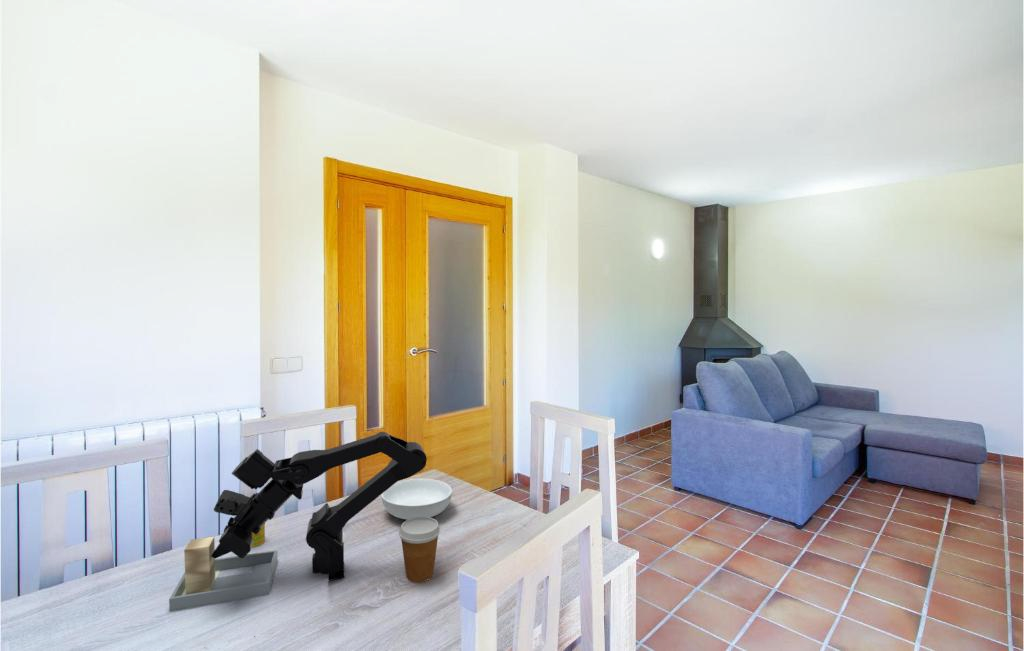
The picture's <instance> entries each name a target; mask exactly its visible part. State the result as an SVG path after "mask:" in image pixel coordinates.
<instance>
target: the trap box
mask: <svg viewBox="0 0 1024 651" xmlns="http://www.w3.org/2000/svg"><path fill="white" fill-rule="evenodd" d="M277 564H278V550H277V549H275V550H269V551H268V550H267V551H263V552H262V551H261V552H255V553H248V554H247V555H246V556H245V557H244V558H240V557H238V556H237V555H234V556H228V557H221V558H220V557H219V558H215V582H214V585H213V587H212V589H211V591H207V592H201V593H194V594H188V595H186V588H185V572H184V573H182V574H183V575H182V576H181V578H180V580H179V582H178V583H177V585H176V587H175V588H174V589H173V592H172V594H171V595H170V597H169V599H168V604H169V612H175V611H180V610H185V609H192V608H197V607H204V606H209V605H214V604H215V605H216V604H220V603H226V602H227V603H228V602H233V601H238V600H244V599H245V600H246V599H251V598H255V597H256V598H257V597H263V596H268V595H269V594H270V591H271V588H272V583H273V580H274V575H275V572H276V568H277ZM251 566H253V567H252V569H251V571H250V572H245V573H239V574H233V575H227V576H220V577H218V576H219V573H220V571H225V570H230V569H231V570H232V569H238V568H245V567H251Z"/></svg>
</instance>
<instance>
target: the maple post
mask: <svg viewBox="0 0 1024 651" xmlns="http://www.w3.org/2000/svg"><path fill="white" fill-rule="evenodd" d="M215 544H216V543H215V536H210V537H202V538H194V539H190V541H189V542H188V544H187V545H186V547H185V548H184V549H183V551H184V554H183V555H184V573H185V588H186V595H188V594H194V593H201V592H207V591H211V589H212V587H213V585H214V582H215V559H216V558H213V557H212V554H213V552H214V551H215V549H216V548H215V547H216V546H215Z"/></svg>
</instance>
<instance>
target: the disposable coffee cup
mask: <svg viewBox="0 0 1024 651" xmlns="http://www.w3.org/2000/svg"><path fill="white" fill-rule="evenodd" d="M440 533H441V527H440V525H439V522H438V520H437V519H435V518H433V517H415V518H411V519H408V520H406V519H405V521H403V522H402V524H401V526H400V528H399V530H398V535H399V537H400V541H401V546H402V555H403V562H404V571H405V578H406V579H407V580H408V581H410V582H413V583H423V582H422V581H424V582H425V580H427V579H429V578H430V579H431V578H433V576H434V570H435V565H436V564H435V563H436V554H437V553H436V552H437V547H438V539H439V534H440ZM432 575H433V576H432ZM430 579H429V580H430ZM427 581H428V580H427Z"/></svg>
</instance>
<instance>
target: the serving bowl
mask: <svg viewBox="0 0 1024 651" xmlns="http://www.w3.org/2000/svg"><path fill="white" fill-rule="evenodd" d="M380 496H381V502H382V505H383V507H384V508H385V510H386V511H387V512H388V513H389V514H390V515H392V516H394V517H396V518H398V519H401V520H405V521H406V520H408V519H411V518H415V517H430V518H433V517H435V516H438V515H439V514H441V513H443V511H445V510H446V509H447V507H448V506H449V504H450V502H451V499H452V496H453V489H452V486H450V485H449V484H447V483H446V482H444V481H442V480H438V479H433V478H411V479H403V480H400V481H398V482H396V483H395V484H394V485H392V486H391V487H390V488H389V489H387V490H386V491H385V492H384V493H382V494H381V495H380Z"/></svg>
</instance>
